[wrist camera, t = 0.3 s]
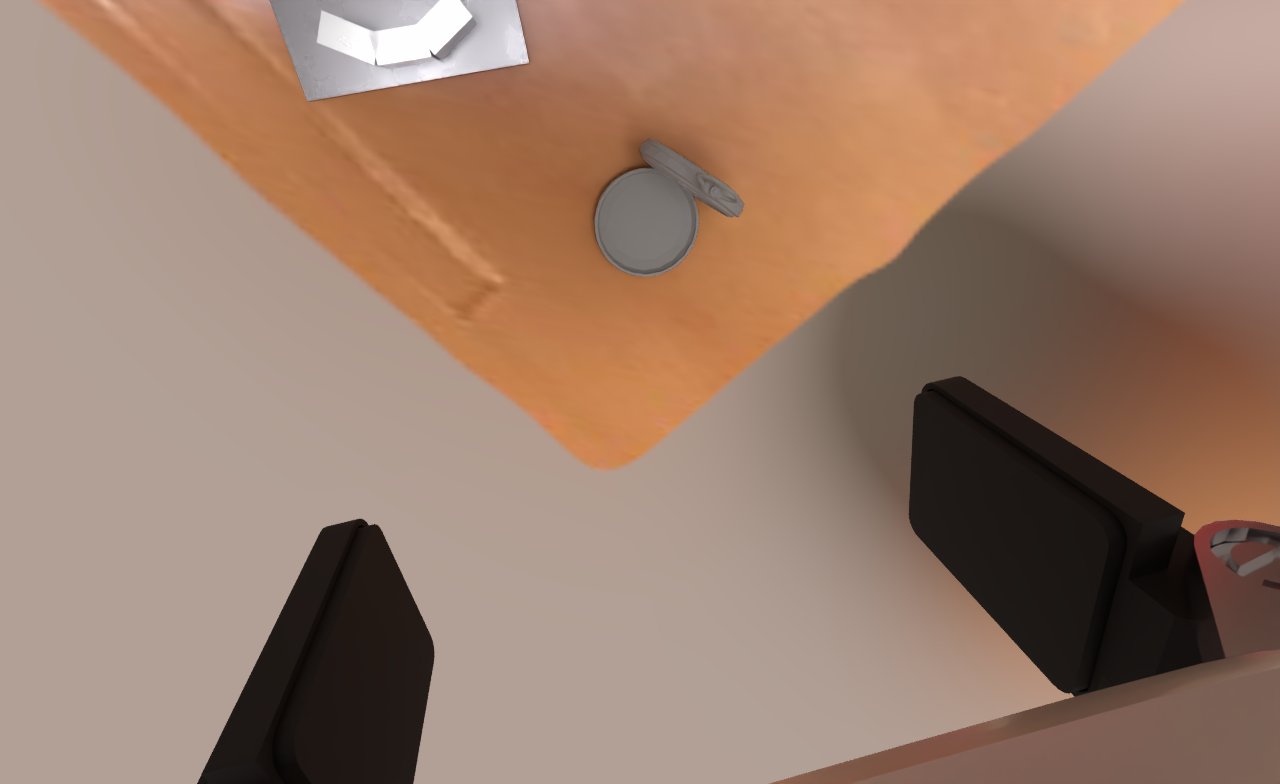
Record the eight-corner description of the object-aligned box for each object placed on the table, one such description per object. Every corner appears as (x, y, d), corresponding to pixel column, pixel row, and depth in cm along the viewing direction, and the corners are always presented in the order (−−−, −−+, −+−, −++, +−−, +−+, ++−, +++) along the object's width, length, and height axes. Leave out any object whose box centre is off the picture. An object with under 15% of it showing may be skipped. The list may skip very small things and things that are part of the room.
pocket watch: (595, 275, 39) (615, 325, 30) (589, 136, 35) (610, 145, 26) (716, 268, 40) (770, 314, 31) (721, 133, 37) (785, 141, 28)
